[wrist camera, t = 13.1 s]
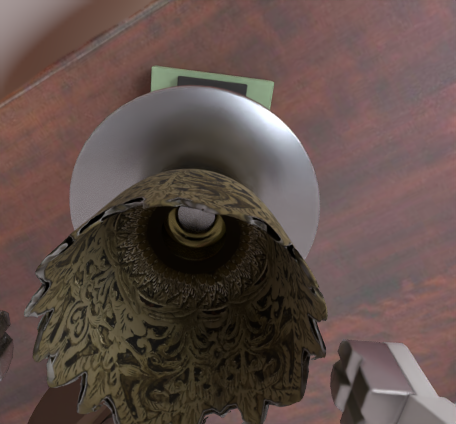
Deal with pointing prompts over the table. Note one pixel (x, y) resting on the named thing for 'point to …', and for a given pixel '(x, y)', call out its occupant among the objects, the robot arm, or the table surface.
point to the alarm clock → (67, 408)
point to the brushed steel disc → (199, 156)
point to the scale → (213, 82)
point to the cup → (179, 306)
